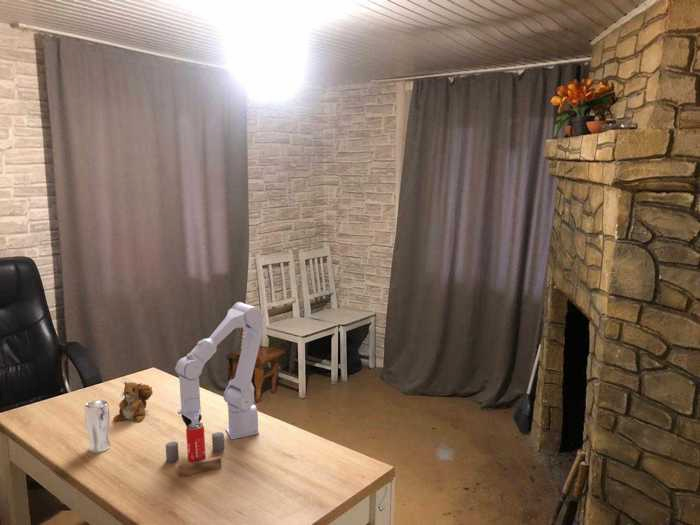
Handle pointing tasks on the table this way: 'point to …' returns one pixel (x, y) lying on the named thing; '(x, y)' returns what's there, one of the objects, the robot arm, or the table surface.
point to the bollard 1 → (172, 452)
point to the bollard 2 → (218, 442)
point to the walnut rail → (199, 466)
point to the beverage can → (195, 442)
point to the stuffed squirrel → (134, 401)
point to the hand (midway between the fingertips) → (192, 436)
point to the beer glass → (97, 425)
